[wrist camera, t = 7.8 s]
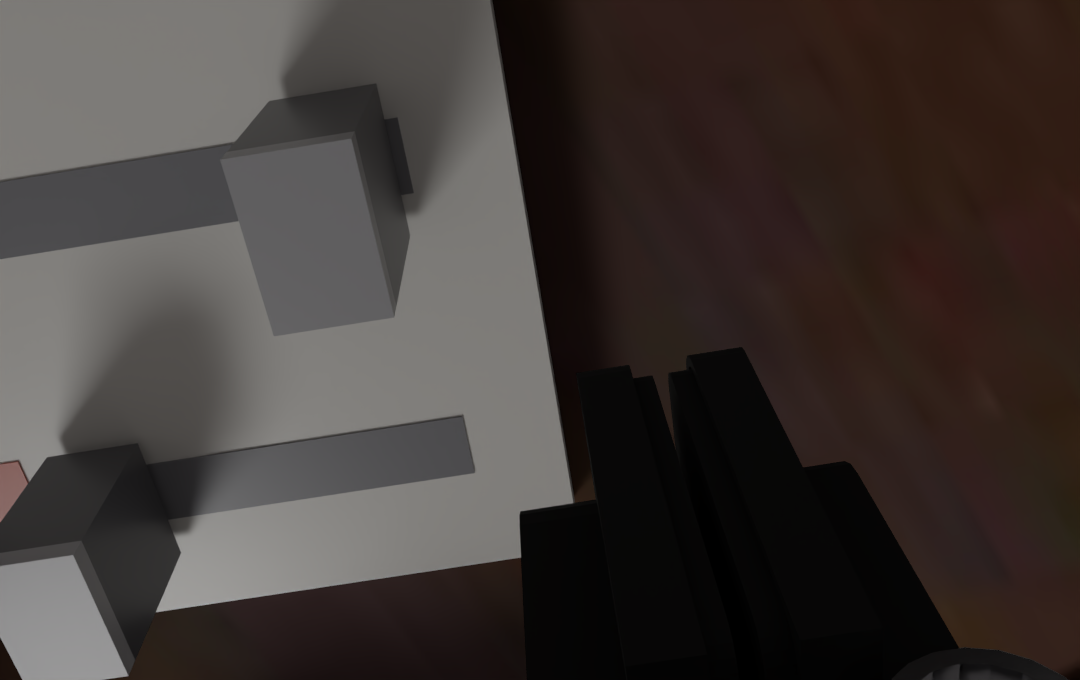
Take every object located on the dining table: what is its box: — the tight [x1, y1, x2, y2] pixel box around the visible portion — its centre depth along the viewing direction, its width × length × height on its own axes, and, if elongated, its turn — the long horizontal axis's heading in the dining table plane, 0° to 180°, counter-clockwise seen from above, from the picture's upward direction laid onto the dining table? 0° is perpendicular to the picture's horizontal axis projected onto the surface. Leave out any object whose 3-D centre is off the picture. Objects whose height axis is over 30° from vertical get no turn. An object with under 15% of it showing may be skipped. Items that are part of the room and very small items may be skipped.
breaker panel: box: [0, 0, 575, 612], centre depth 24 cm, size 16×24×3 cm, turn 9°
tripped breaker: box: [220, 84, 410, 336], centre depth 21 cm, size 2×4×4 cm, turn 9°
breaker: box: [0, 443, 181, 680], centre depth 25 cm, size 2×4×4 cm, turn 9°
